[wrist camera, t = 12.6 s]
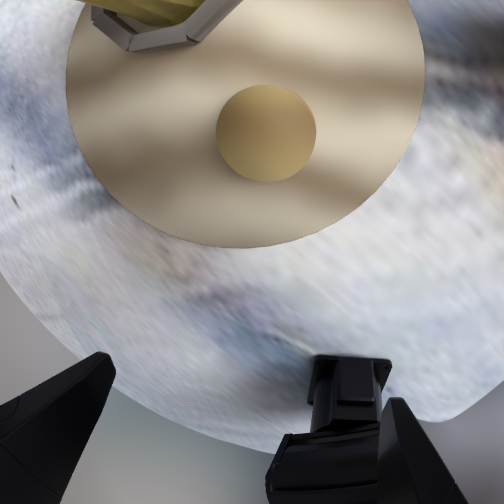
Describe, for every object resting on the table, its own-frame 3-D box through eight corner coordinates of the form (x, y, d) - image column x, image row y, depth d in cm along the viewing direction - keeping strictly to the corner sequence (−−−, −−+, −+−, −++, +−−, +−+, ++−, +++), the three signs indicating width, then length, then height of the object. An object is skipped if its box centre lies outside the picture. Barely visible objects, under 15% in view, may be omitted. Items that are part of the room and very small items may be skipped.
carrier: (399, 256, 20) (409, 280, 17) (93, 231, 24) (70, 247, 21) (405, -78, 9) (414, -99, 6) (79, -39, 13) (54, -47, 11)
